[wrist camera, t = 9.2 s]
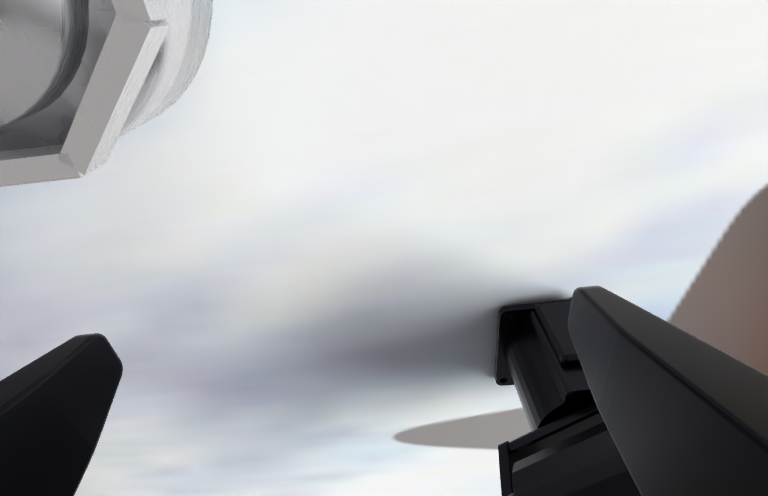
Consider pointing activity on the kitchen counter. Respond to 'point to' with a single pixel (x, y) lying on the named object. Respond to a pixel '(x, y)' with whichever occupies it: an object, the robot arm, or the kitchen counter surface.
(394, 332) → the kitchen counter surface
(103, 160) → the pot
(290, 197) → the kitchen counter surface
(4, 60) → the lid
